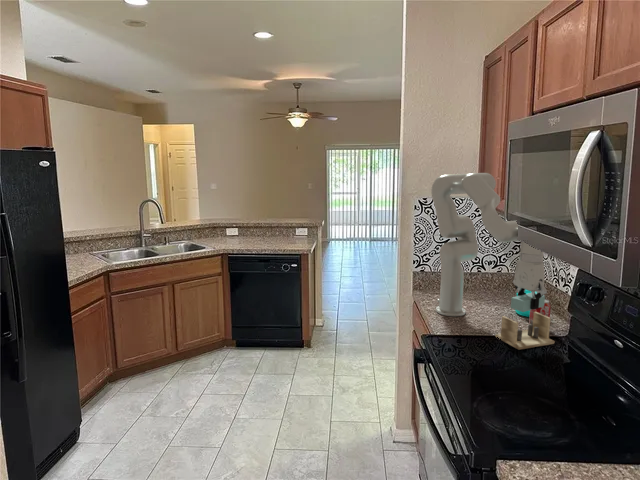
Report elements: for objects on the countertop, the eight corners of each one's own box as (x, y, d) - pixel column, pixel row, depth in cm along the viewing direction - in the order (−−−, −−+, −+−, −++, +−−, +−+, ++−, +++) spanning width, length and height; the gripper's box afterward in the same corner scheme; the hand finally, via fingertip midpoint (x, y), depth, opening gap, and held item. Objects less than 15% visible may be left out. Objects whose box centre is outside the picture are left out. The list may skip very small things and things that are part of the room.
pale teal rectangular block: (531, 302, 166) (532, 292, 165) (544, 306, 161) (545, 295, 161) (510, 308, 160) (511, 297, 159) (522, 312, 156) (523, 301, 155)
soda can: (551, 329, 173) (553, 300, 171) (544, 334, 169) (547, 304, 166) (532, 324, 178) (535, 296, 176) (525, 329, 174) (528, 300, 171)
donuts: (513, 291, 189) (522, 287, 195) (511, 314, 190) (520, 308, 197) (537, 297, 182) (545, 291, 188) (535, 319, 183) (543, 313, 190)
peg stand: (495, 336, 166) (497, 314, 165) (529, 331, 171) (531, 309, 169) (518, 349, 155) (520, 325, 153) (554, 343, 160) (556, 320, 158)
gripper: (505, 254, 164) (502, 300, 167) (541, 264, 148) (537, 315, 151) (522, 252, 166) (518, 298, 170) (559, 262, 150) (554, 312, 154)
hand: (527, 305), depth 160 cm, fingers closed on pale teal rectangular block, 5 cm apart
